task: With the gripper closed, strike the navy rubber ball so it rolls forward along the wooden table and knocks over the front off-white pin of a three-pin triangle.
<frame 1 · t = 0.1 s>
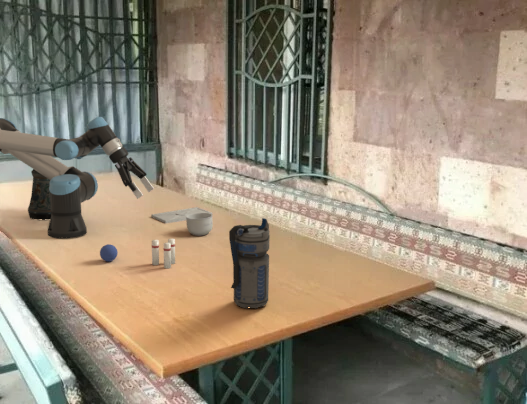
hand: (146, 193, 254), 15 cm above the table, tool tilted 35°, fingers open, 13 cm apart
teacup: (200, 233, 254), on the table
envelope: (182, 218, 281), on the table
beer stein: (50, 215, 279), on the table
ball: (108, 252, 215), on the table
left back pin: (171, 262, 215), on the table
beverage bottle: (248, 305, 179), on the table
right back pin: (167, 267, 210), on the table
front pin: (155, 264, 213), on the table
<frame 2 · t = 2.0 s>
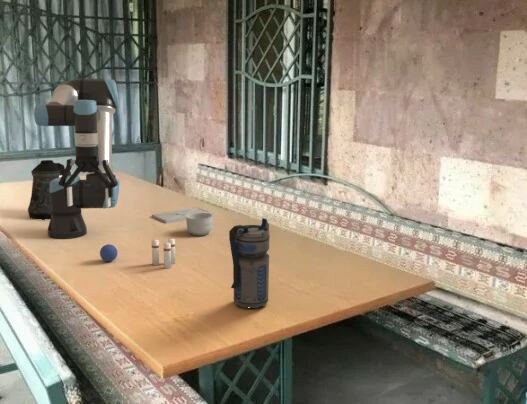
hand: (89, 206, 215), 19 cm above the table, tool pointing down, fingers open, 13 cm apart
nothing on the table moved.
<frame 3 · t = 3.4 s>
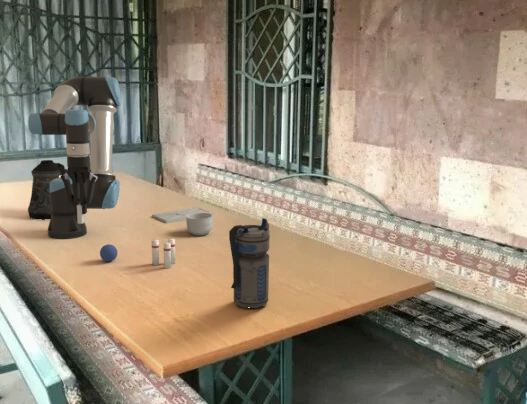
hand: (81, 222, 214), 13 cm above the table, tool pointing down, fingers closed
nothing on the table moved.
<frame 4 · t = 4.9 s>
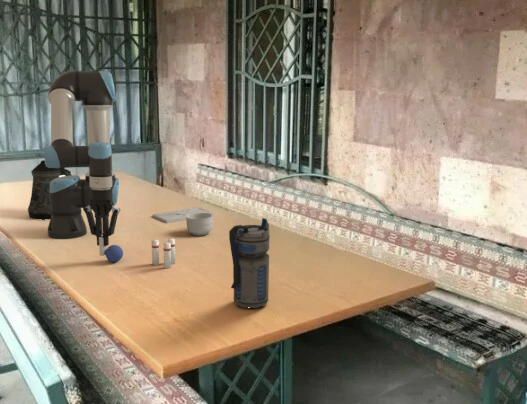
hand: (103, 254, 214), 3 cm above the table, tool pointing down, fingers closed
ball: (114, 253, 215), on the table, touching gripper
everything else where it was.
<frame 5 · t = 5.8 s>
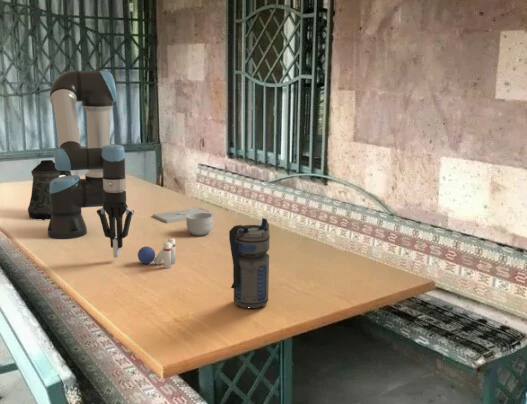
hand: (117, 256, 215), 2 cm above the table, tool pointing down, fingers closed
ball: (146, 255, 214), on the table
front pin: (156, 262, 213), point 1 cm above the table, tilted 36°
everything else where it was.
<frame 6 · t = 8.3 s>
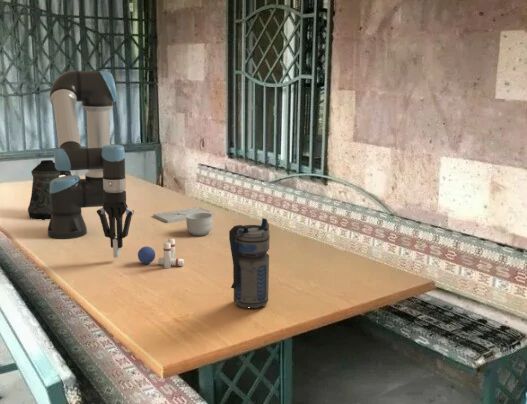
hand: (117, 256, 215), 2 cm above the table, tool pointing down, fingers closed
front pin: (159, 261, 213), point 1 cm above the table, tilted 90°
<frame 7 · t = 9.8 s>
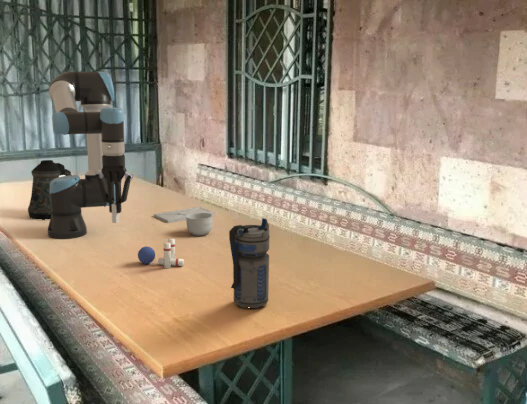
hand: (115, 221, 212), 14 cm above the table, tool pointing down, fingers closed
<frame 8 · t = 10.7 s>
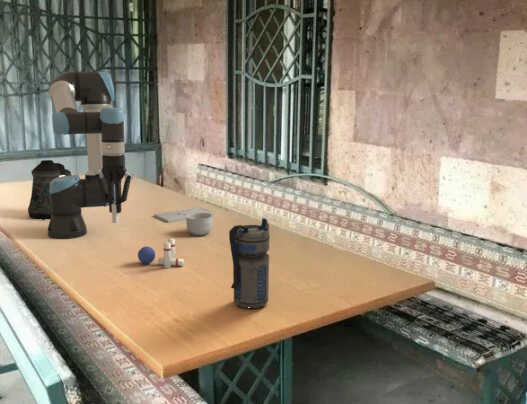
hand: (115, 221, 212), 14 cm above the table, tool pointing down, fingers closed
at the end: front pin tilted 90°; front pin never touched the robot; ball moved 13.7 cm from its start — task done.
